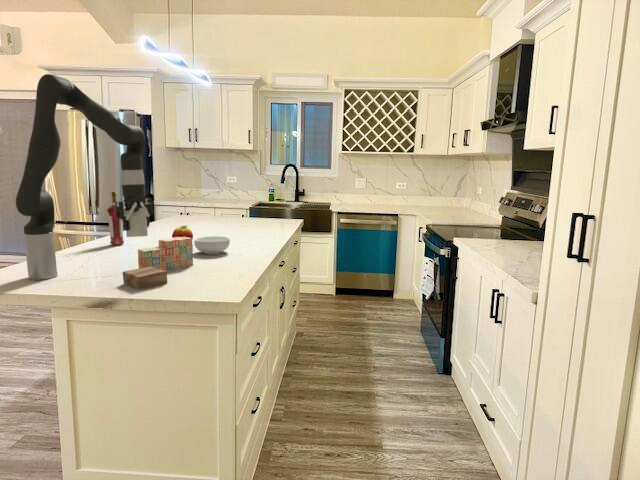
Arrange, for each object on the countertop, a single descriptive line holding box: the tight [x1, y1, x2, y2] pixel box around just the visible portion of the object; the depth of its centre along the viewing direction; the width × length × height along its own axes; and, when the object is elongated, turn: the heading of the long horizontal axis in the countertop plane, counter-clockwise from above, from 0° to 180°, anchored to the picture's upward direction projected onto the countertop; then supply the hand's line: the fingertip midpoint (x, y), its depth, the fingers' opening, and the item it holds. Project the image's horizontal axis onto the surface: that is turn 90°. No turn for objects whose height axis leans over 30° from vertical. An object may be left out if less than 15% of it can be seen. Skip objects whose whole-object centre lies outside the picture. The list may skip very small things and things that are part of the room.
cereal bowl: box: [193, 235, 231, 255], centre depth 214 cm, size 17×17×7 cm
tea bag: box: [125, 208, 149, 238], centre depth 156 cm, size 4×7×10 cm, turn 108°
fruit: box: [171, 225, 194, 240], centre depth 233 cm, size 11×11×10 cm
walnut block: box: [122, 266, 168, 291], centre depth 160 cm, size 11×11×5 cm
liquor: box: [106, 191, 125, 246], centre depth 227 cm, size 7×7×28 cm
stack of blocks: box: [137, 237, 194, 271], centre depth 183 cm, size 21×6×12 cm, turn 136°
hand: (136, 228), depth 156 cm, fingers closed on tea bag, 7 cm apart
